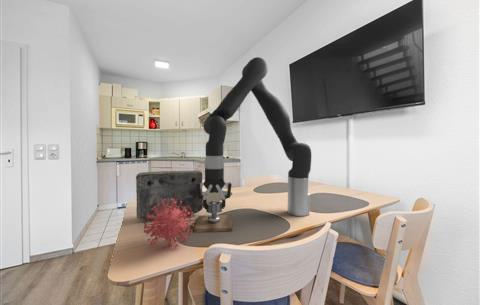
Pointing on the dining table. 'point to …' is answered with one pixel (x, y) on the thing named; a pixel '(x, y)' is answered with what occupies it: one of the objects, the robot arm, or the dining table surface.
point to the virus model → (169, 223)
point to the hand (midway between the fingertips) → (214, 208)
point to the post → (214, 215)
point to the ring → (214, 207)
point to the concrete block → (167, 191)
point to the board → (205, 226)
